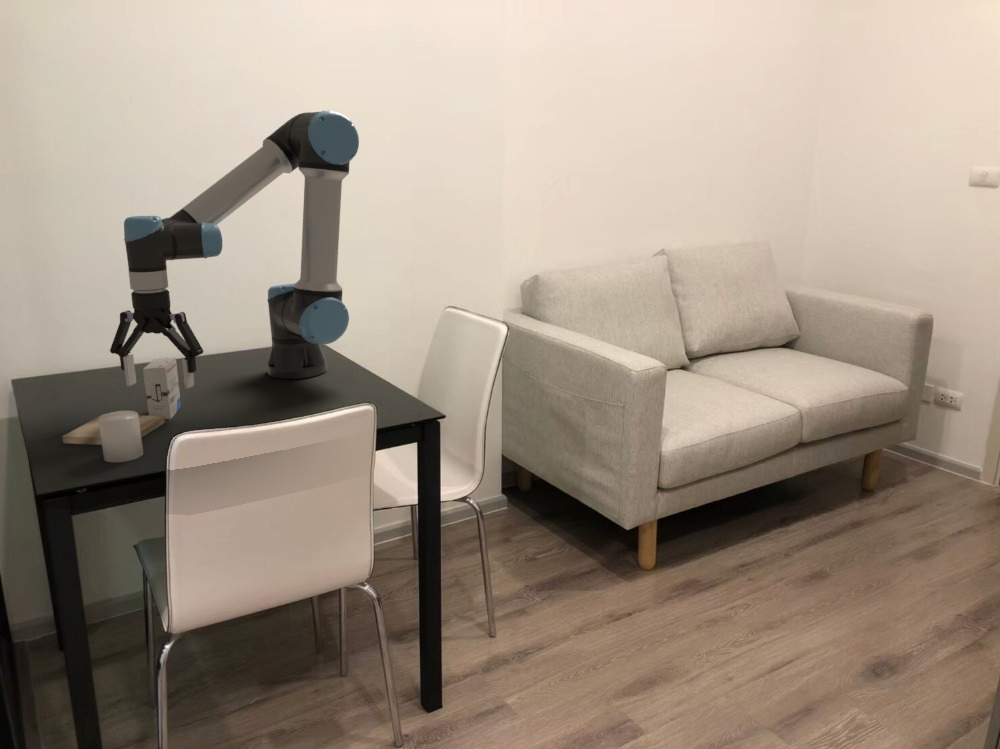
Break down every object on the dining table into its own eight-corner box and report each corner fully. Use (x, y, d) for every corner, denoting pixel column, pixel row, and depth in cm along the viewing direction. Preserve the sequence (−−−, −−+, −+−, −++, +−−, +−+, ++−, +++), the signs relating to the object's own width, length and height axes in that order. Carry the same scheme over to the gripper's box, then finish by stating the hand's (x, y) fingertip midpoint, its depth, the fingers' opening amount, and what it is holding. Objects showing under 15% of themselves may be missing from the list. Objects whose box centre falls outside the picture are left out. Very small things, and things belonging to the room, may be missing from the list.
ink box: (160, 408, 189) (153, 357, 186) (182, 407, 190) (176, 357, 186) (148, 420, 181) (141, 368, 178) (171, 419, 181) (165, 367, 178)
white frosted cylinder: (150, 449, 164) (145, 411, 162) (130, 463, 157) (125, 423, 155) (117, 448, 165) (111, 410, 162) (96, 461, 158) (90, 421, 156)
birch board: (164, 422, 179) (163, 416, 179) (128, 445, 166) (127, 438, 165) (104, 420, 181) (103, 414, 181) (63, 443, 168) (62, 436, 167)
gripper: (213, 288, 180) (222, 383, 185) (105, 285, 183) (117, 378, 188) (196, 294, 173) (206, 392, 178) (84, 291, 176) (97, 388, 181)
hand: (160, 385), depth 183 cm, fingers open, 13 cm apart
